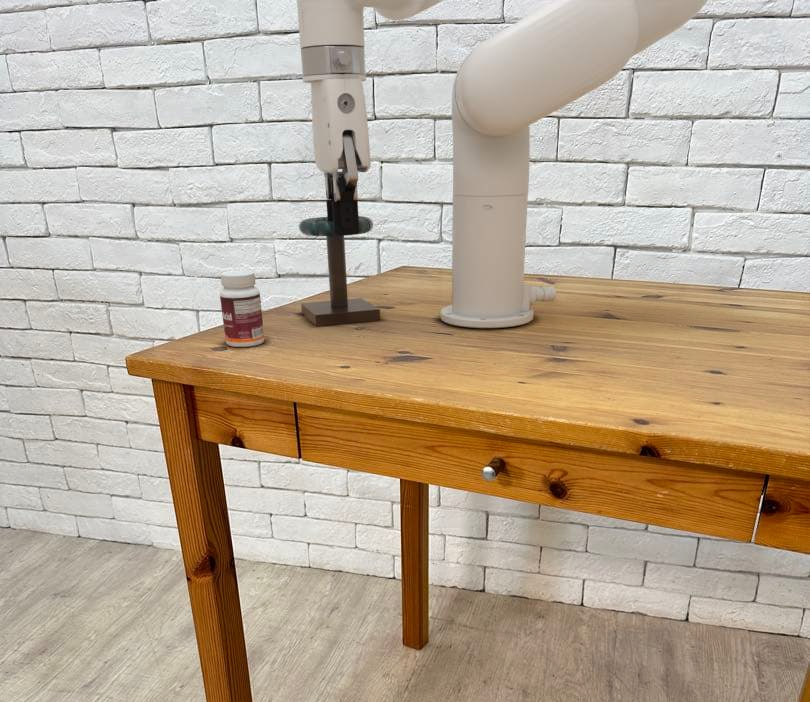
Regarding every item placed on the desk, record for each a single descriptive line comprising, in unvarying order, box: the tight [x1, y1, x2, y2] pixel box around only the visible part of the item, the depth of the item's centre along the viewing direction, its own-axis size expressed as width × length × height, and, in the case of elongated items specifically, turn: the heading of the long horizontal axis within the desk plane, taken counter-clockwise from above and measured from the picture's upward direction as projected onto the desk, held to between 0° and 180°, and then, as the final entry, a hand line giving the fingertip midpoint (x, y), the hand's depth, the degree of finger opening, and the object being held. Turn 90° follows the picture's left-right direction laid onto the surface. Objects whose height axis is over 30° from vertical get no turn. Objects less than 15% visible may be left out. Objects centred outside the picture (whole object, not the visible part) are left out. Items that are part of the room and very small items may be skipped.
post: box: [300, 236, 381, 327], centre depth 105 cm, size 9×9×12 cm
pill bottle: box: [219, 269, 265, 348], centre depth 93 cm, size 5×5×8 cm
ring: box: [298, 215, 374, 237], centre depth 102 cm, size 10×10×2 cm
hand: (343, 232), depth 99 cm, fingers closed on ring, 2 cm apart
